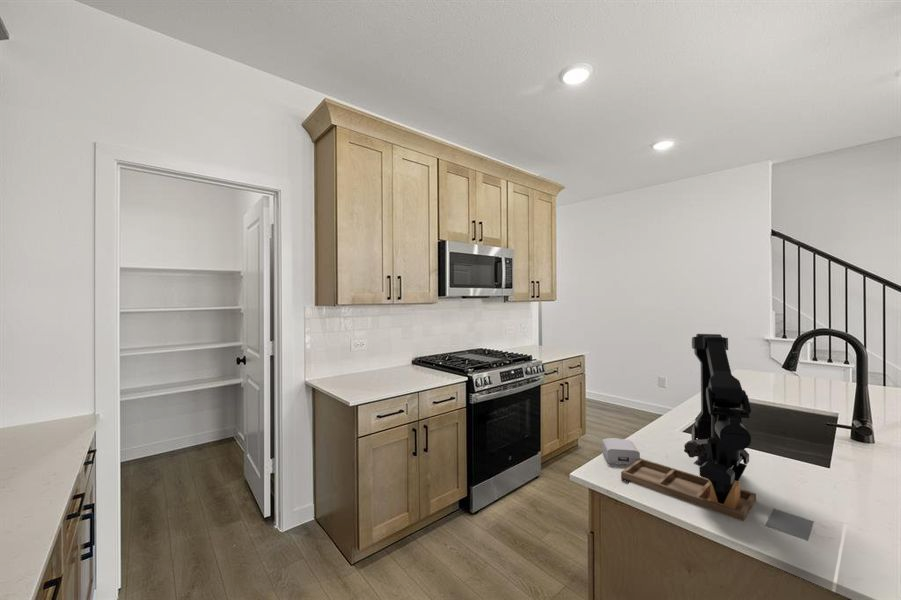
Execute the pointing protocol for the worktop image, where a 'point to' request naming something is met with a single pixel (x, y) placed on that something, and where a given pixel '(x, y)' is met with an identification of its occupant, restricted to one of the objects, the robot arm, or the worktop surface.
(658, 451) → the worktop surface
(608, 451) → the charger
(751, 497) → the organiser
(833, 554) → the worktop surface
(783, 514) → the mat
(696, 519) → the worktop surface
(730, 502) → the letter cube
